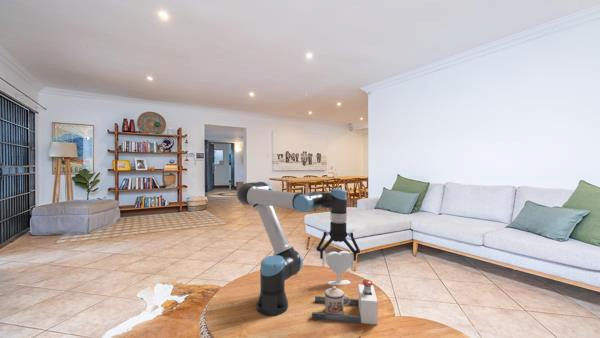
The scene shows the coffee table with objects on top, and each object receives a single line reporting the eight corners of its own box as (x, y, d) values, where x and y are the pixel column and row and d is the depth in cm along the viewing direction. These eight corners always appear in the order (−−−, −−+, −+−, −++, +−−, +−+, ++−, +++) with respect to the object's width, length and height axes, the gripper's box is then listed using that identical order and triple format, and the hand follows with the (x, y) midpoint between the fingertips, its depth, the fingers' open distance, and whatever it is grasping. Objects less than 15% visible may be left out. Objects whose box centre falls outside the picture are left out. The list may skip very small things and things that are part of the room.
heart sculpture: (349, 279, 162) (350, 250, 162) (353, 283, 157) (353, 252, 157) (325, 281, 159) (325, 251, 159) (327, 285, 154) (327, 254, 154)
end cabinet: (360, 323, 117) (361, 300, 117) (358, 304, 133) (358, 284, 133) (377, 324, 116) (377, 301, 116) (372, 305, 132) (373, 285, 132)
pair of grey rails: (311, 319, 120) (311, 313, 120) (315, 300, 136) (315, 296, 136) (360, 323, 117) (361, 317, 117) (358, 304, 133) (358, 299, 133)
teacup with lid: (326, 317, 122) (326, 291, 122) (323, 306, 131) (323, 282, 131) (352, 316, 122) (352, 290, 122) (347, 305, 131) (347, 282, 131)
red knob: (362, 298, 123) (363, 283, 123) (362, 294, 127) (362, 279, 127) (372, 299, 122) (372, 284, 122) (371, 294, 126) (371, 279, 126)
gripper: (311, 222, 124) (310, 267, 125) (366, 224, 121) (365, 271, 121) (312, 219, 132) (312, 262, 132) (364, 221, 128) (364, 265, 128)
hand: (337, 266), depth 126 cm, fingers open, 13 cm apart
